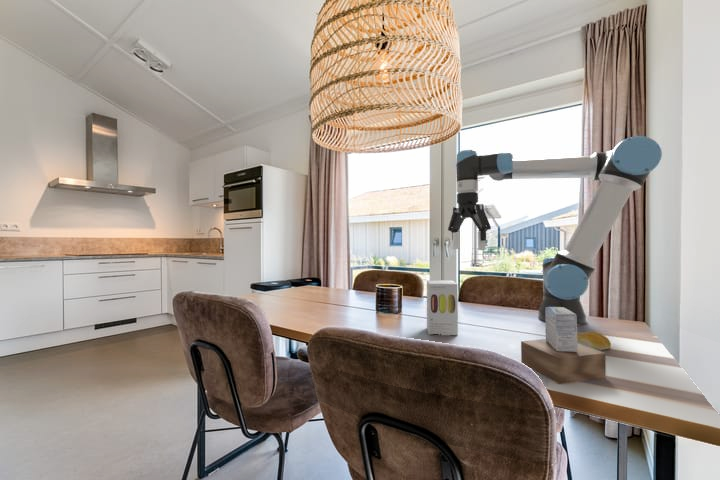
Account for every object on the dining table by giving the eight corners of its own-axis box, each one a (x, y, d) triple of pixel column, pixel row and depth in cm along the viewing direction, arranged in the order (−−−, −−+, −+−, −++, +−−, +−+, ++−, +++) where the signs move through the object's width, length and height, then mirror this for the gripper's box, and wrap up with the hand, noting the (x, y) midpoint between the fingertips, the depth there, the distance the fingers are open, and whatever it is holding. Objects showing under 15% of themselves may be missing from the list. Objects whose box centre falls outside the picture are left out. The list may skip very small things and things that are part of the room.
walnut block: (562, 360, 86) (562, 337, 86) (605, 380, 74) (605, 353, 74) (521, 365, 84) (521, 341, 84) (559, 386, 72) (559, 358, 72)
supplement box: (428, 335, 109) (427, 283, 109) (426, 327, 118) (425, 279, 118) (458, 336, 108) (458, 283, 107) (454, 328, 117) (453, 279, 117)
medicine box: (578, 353, 75) (577, 314, 75) (555, 351, 76) (555, 313, 76) (565, 342, 82) (564, 306, 82) (545, 341, 83) (544, 306, 83)
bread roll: (616, 348, 94) (616, 333, 94) (596, 353, 90) (596, 338, 90) (585, 340, 102) (585, 326, 102) (566, 344, 98) (566, 330, 98)
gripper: (438, 196, 136) (439, 248, 136) (484, 187, 113) (485, 250, 113) (453, 196, 139) (454, 248, 139) (500, 188, 116) (502, 250, 116)
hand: (468, 249), depth 126 cm, fingers open, 13 cm apart
